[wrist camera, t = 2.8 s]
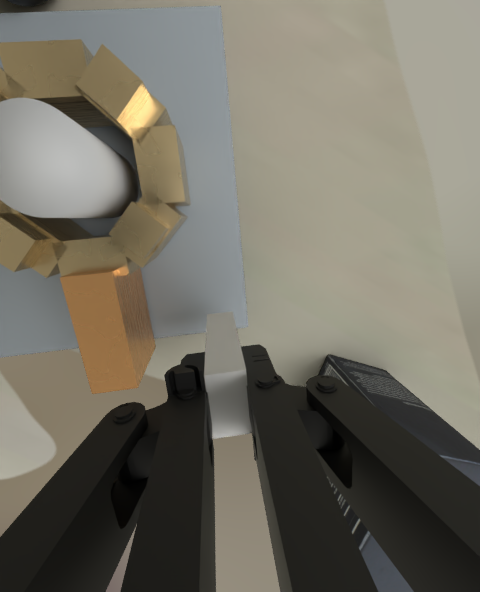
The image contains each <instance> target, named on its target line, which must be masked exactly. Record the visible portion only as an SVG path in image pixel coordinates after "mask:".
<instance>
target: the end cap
mask: <svg viewBox="0 0 480 592" xmlns="http://www.w3.org/2000/svg"><path fill="white" fill-rule="evenodd" d="M7 1H9V2H11V3H13V4H17V5H21V6H36V5H39V4H42V3H44V2H45V1H47V0H7Z"/></svg>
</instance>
